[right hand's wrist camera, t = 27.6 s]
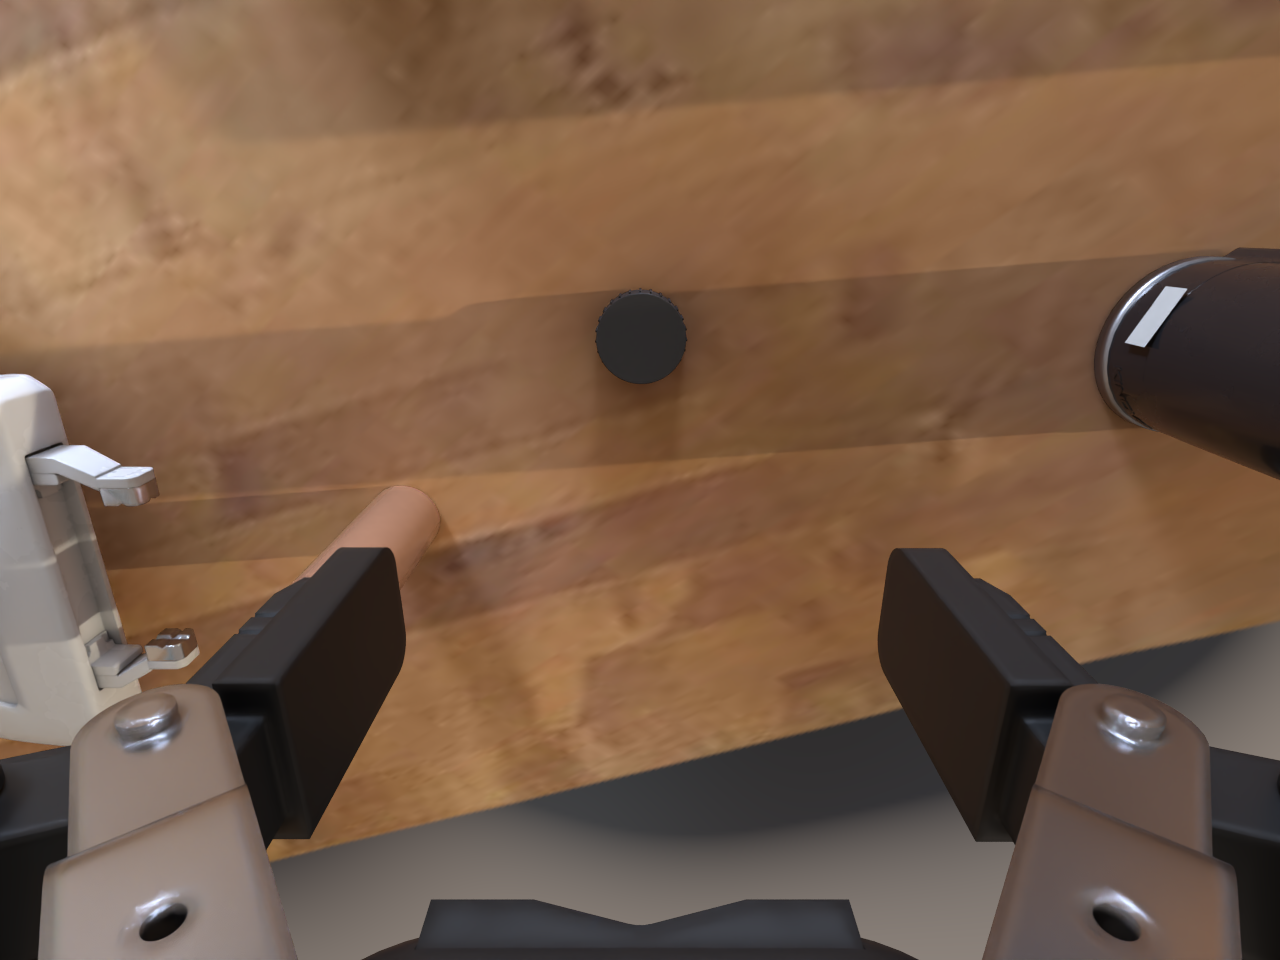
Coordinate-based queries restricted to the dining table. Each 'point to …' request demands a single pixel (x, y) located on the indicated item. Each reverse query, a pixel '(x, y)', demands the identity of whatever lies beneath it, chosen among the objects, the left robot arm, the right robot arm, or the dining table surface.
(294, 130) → the dining table surface
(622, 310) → the lid
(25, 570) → the left robot arm
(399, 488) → the brown capped cylinder
